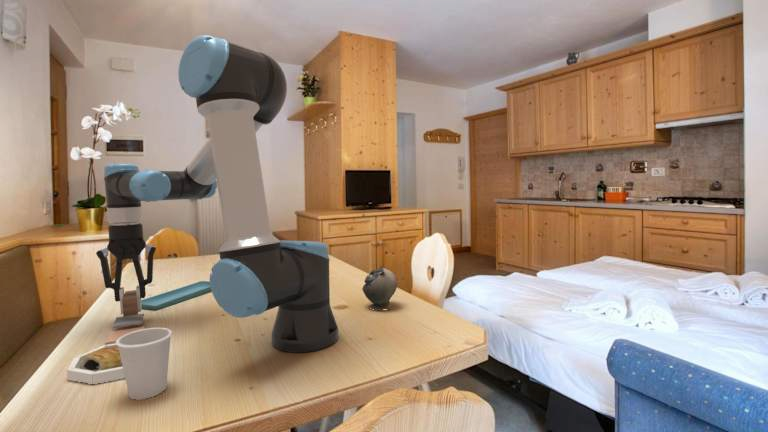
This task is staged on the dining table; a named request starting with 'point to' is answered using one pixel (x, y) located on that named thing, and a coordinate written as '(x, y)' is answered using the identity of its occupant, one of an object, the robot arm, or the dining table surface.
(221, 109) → the robot arm
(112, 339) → the tile
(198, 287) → the teal serving tray
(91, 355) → the pastry
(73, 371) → the dish rim
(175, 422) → the dining table surface
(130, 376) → the dixie cup
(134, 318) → the tall brown block
